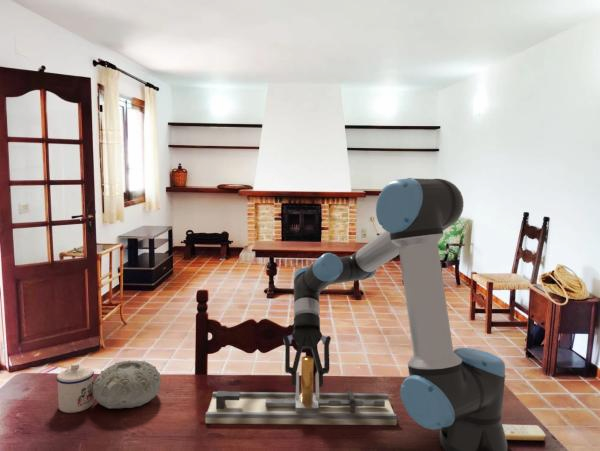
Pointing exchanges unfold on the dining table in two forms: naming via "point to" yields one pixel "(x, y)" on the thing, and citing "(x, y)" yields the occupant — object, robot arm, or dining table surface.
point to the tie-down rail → (254, 411)
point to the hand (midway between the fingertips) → (307, 398)
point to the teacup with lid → (75, 388)
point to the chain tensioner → (309, 400)
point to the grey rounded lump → (127, 384)
